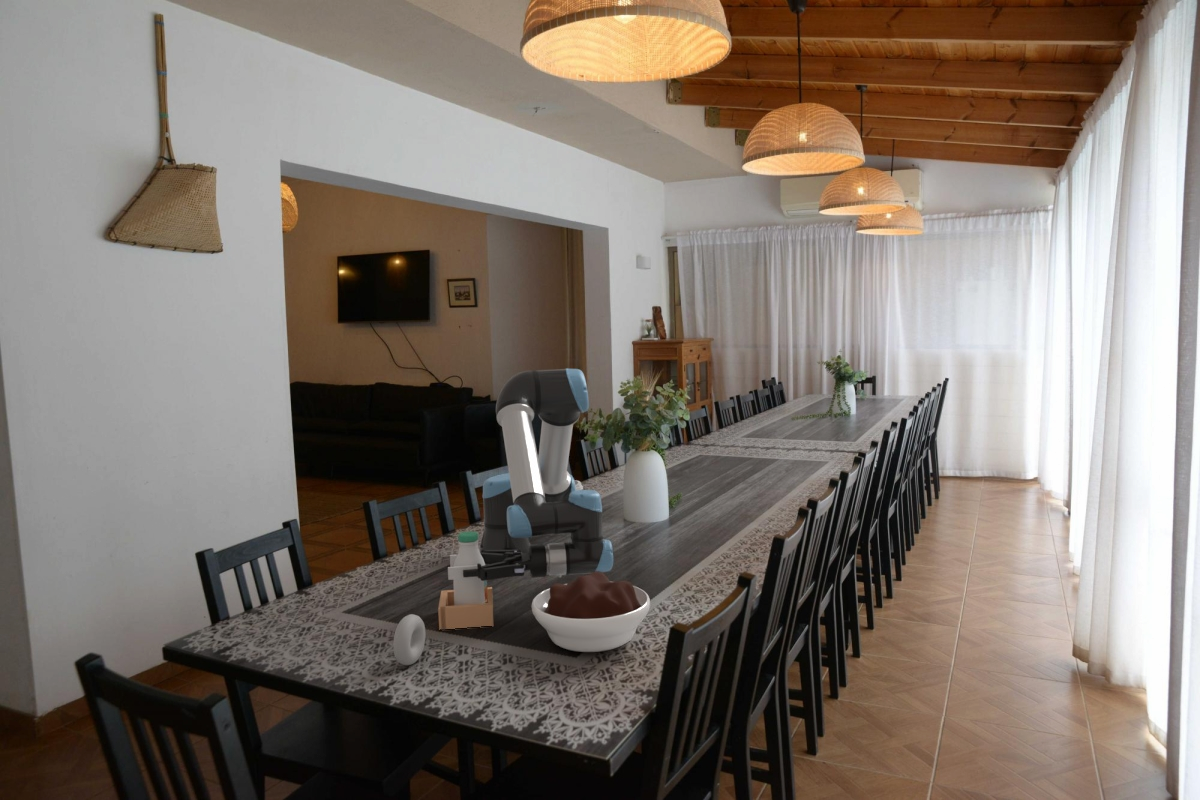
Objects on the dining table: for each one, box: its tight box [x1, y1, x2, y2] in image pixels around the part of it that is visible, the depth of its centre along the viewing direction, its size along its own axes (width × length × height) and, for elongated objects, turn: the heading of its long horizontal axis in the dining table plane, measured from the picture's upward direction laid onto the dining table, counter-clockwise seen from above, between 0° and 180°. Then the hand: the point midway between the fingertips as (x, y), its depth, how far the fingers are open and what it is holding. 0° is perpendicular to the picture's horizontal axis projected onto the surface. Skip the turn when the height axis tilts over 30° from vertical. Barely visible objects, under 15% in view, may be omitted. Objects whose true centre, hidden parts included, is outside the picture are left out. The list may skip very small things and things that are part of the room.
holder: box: [437, 586, 494, 630], centre depth 194 cm, size 12×13×5 cm
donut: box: [392, 613, 426, 666], centre depth 169 cm, size 10×4×10 cm, turn 165°
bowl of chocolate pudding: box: [531, 571, 651, 653], centre depth 177 cm, size 25×25×15 cm
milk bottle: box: [452, 531, 488, 606], centre depth 194 cm, size 8×8×20 cm
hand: (449, 567), depth 193 cm, fingers open, 9 cm apart
